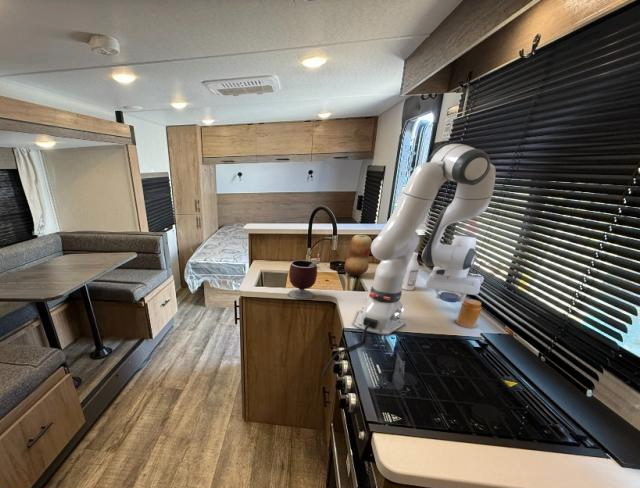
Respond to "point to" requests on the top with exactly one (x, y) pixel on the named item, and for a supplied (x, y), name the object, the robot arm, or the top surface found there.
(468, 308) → the jam jar
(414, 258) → the bath foam
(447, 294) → the jam lid
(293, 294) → the mate gourd
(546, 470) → the top surface
